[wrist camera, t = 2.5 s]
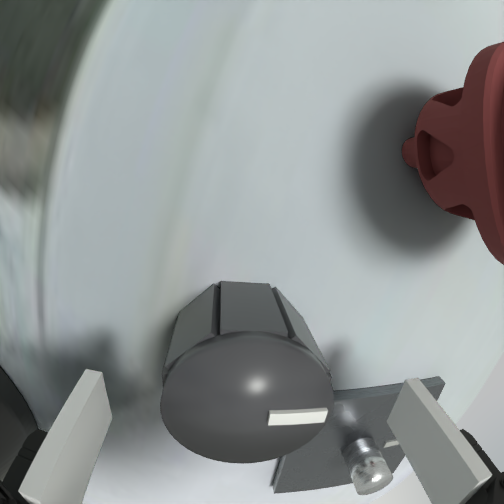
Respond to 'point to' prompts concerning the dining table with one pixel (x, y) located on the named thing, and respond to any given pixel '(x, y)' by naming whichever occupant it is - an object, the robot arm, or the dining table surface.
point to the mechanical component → (466, 148)
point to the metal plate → (350, 444)
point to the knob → (244, 376)
